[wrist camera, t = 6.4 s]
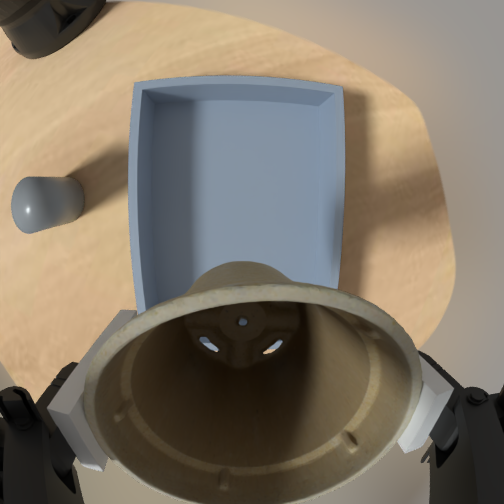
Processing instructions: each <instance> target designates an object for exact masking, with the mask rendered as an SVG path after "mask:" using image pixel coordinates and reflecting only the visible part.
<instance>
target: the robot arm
mask: <svg viewBox="0 0 504 504" xmlns="http://www.w3.org/2000/svg"><path fill="white" fill-rule="evenodd" d="M105 2H106V0H0V27H2V29H3V31H4V32H5V34H6V35H7V37H8V38H9V39H10V40H11V43H12V46H13V48H14V50H15V51H16V52H17V53H19V54H20V55H22V56H24V57H26V58H28V59H37V58H41V57H44V56H47V55H49V54H51V53H53V52H55V51H57V50H58V49H60V48H61V47H63V46H64V45H66V44H67V43H68V42H70V41H71V40H72V39H74V38H75V37H76V36H77V35H78V34H79V33H80V32H82V31H83V30H84V29H85V28H86V27H87V26H88V25H89V24H90V23H91V21H92V20H93V19H94V18H95V17H96V16H97V14H98V13H99V12H100V10H101V9H102V7H103V5H104V4H105ZM135 316H137V310H120V312H119V313H118V314H117V315H116V316H115V318H114V319H113V320H112V321H111V323H110V324H109V325H108V326H107V328H106V329H105V330H104V331H103V333H102V334H101V335H100V336H99V338H98V339H97V340H96V341H95V343H94V344H93V345H92V347H91V348H90V349H89V350H88V352H87V353H86V354H85V356H84V357H83V358H82V360H81V361H80V362H79V363H76V362H71V363H70V364H68V365H67V366H65V367H64V368H62V369H61V371H60V372H59V373H58V375H57V376H56V379H55V378H54V380H53V381H52V382H51V385H49V386H48V388H47V389H46V390H45V391H44V393H43V394H42V395H41V397H40V398H39V400H38V401H37V402H36V404H35V403H34V401H33V400H32V398H31V396H30V394H29V392H28V391H27V390H26V389H24V388H22V387H17V386H13V387H8V388H6V389H4V390H2V391H0V413H1V414H2V416H3V418H1V417H0V504H84V501H83V497H82V493H81V489H80V484H79V480H78V476H77V471H76V469H75V467H74V465H73V462H74V460H75V457H77V459H78V460H79V461H80V463H81V464H82V465H83V466H84V467H88V468H91V469H94V470H98V471H102V472H103V471H104V469H105V466H106V463H107V460H108V457H109V456H107V455H106V454H105V452H104V451H103V450H102V449H101V447H100V446H99V444H98V442H97V441H96V439H95V437H94V435H93V433H92V431H91V429H90V427H89V425H88V423H87V420H86V417H85V412H84V402H83V400H84V385H85V379H86V375H87V372H88V369H89V367H90V365H91V362H92V360H93V358H94V357H95V355H96V354H97V352H98V351H99V350H100V348H101V347H102V346H103V344H104V343H105V342H106V341H107V340H108V339H109V338H110V337H111V336H112V334H113V333H115V332H116V331H117V330H118V329H119V328H120V327H122V326H123V325H124V324H125V323H127V322H128V321H129V320H131V319H132V318H134V317H135ZM418 353H419V358H420V362H421V368H422V388H421V393H420V397H419V403H418V405H417V407H416V410H415V412H414V414H413V416H412V419H411V421H410V423H409V424H408V426H407V428H406V429H405V431H404V432H403V434H402V435H401V437H400V438H399V439H398V441H397V442H398V443H399V445H400V447H401V448H402V450H403V451H404V453H407V452H410V451H412V450H415V449H417V448H420V447H422V446H423V444H424V443H425V441H426V439H427V438H428V436H430V437H431V439H432V440H433V442H432V444H431V445H430V447H429V448H428V450H427V451H426V453H425V454H424V456H423V457H422V459H421V463H423V462H424V461H425V460H426V458H427V457H428V455H429V456H430V458H429V460H428V462H427V463H430V500H429V504H504V385H503V388H502V390H501V392H500V393H496V394H491V395H489V394H488V393H487V392H485V391H484V390H483V389H480V388H477V387H467V388H465V389H464V388H463V387H462V386H461V385H460V384H459V383H458V382H457V381H456V380H455V379H454V378H453V377H451V375H449V374H448V373H447V372H446V371H445V370H443V369H442V367H441V366H440V365H439V364H437V363H436V362H435V361H434V360H433V359H432V358H431V357H430V356H429V355H426V354H425V353H423V352H421V351H418Z"/></svg>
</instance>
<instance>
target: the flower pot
mask: <svg viewBox="0 0 504 504" xmlns="http://www.w3.org/2000/svg"><path fill="white" fill-rule="evenodd" d="M241 319H246V320H247V324H246V325H240V324H239V321H240V320H241ZM200 337H207V338H208V340H209V341H210V342H211V343H212V344H213V345H214V346H215V347H217V349H218V352H215V351H214V350H211V349H209V348H208V347H207V346H205V345H204V344H203V343H202V342H201V341H200V340H199V339H200ZM278 340H282V343H281V345H280V346H279V348H277V349H276V350H275V351H274V352H272V353H268V354H263V352H264V351H266V350H267V349H269V348H270V347H271V346H273V345H274V344H275V343H276V342H277V341H278ZM421 388H422V368H421V362H420V358H419V353H418V351H417V349H416V347H415V345H414V343H413V341H412V339H411V337H410V336H409V335H408V334H407V333H406V332H405V330H404V328H403V327H402V326H401V325H399V324H398V323H397V322H396V320H395V319H394V318H392V317H391V316H390V315H389V314H387V313H386V312H385V311H384V310H382V309H380V308H379V307H378V306H376V305H375V304H373V303H371V302H369V301H367V300H365V299H363V298H361V297H358V296H355V295H353V294H350V293H347V292H344V291H341V290H338V289H334V288H330V287H326V286H321V285H315V284H310V283H302V282H294V281H292V280H291V279H289V278H288V277H286V276H285V275H284V274H282V273H281V272H280V271H278V270H277V269H275V268H273V267H271V266H269V265H266V264H263V263H258V262H252V261H233V262H228V263H224V264H221V265H219V266H216V267H214V268H212V269H210V270H209V271H207V272H206V273H204V274H203V275H201V276H200V277H199V278H198V279H197V280H196V281H195V282H194V284H193V285H192V286H191V288H190V289H189V290H188V291H187V292H186V293H185V294H184V295H181V296H178V297H175V298H172V299H170V300H167V301H165V302H162V303H159V304H157V305H155V306H153V307H151V308H150V309H148V310H146V311H144V312H142V313H140V314H139V315H137V316H135V317H134V318H132V319H131V320H129V321H128V322H127V323H125V324H124V325H123V326H122V327H120V328H119V329H118V330H117V331H116V332H115V333H113V334H112V336H111V337H110V338H109V339H108V340H107V341H106V342H105V343H104V344H103V346H102V347H101V348H100V350H99V351H98V352H97V354H96V355H95V357H94V358H93V360H92V362H91V365H90V367H89V369H88V372H87V375H86V379H85V385H84V400H83V402H84V412H85V417H86V420H87V423H88V425H89V427H90V429H91V431H92V433H93V435H94V437H95V439H96V441H97V442H98V444H99V446H100V447H101V449H102V450H103V451H104V452H105V454H106V455H107V456H109V458H110V459H111V460H112V462H113V463H115V464H116V465H117V466H118V467H119V468H120V469H122V470H123V471H125V472H126V473H127V474H128V475H129V476H131V477H132V478H133V479H135V480H136V481H137V482H139V483H141V484H143V485H144V486H146V487H148V488H150V489H152V490H154V491H156V492H158V493H160V494H163V495H165V496H167V497H170V498H173V499H175V500H179V501H182V502H185V503H188V504H297V503H302V502H306V501H308V500H312V499H314V498H317V497H320V496H322V495H324V494H327V493H329V492H331V491H335V490H336V489H338V488H340V487H341V486H343V485H345V484H347V483H349V482H350V481H352V480H354V479H355V478H357V477H358V476H359V475H361V474H363V473H364V472H366V471H367V470H368V469H369V468H371V467H372V466H373V465H374V464H375V463H377V462H378V461H379V460H380V459H381V458H382V457H383V456H384V455H385V454H386V453H388V451H389V450H390V449H391V448H392V446H394V444H395V443H396V442H397V441H398V439H399V438H400V437H401V435H402V434H403V432H404V431H405V429H406V428H407V426H408V424H409V423H410V421H411V419H412V416H413V414H414V412H415V410H416V407H417V405H418V403H419V397H420V393H421Z"/></svg>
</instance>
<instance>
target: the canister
mask: <svg viewBox="0 0 504 504" xmlns="http://www.w3.org/2000/svg"><path fill="white" fill-rule="evenodd" d="M83 207H84V192H83V189H82V186H81V185H80V183H79V182H78V181H77V180H75V179H74V178H71V177H26V178H24V179H22V180H21V181H20V182H19V183H18V184H17V186H16V187H15V190H14V192H13V196H12V201H11V211H12V216H13V219H14V222H15V224H16V225H17V227H18V228H19V229H20V230H21V231H22V232H24V233H27V234H31V233H35V232H38V231H42V230H45V229H49V228H52V227H56V226H60V225H63V224H67V223H71V222H73V221H75V220H76V219H77V218H78V217H79V216H80V214H81V212H82V210H83Z"/></svg>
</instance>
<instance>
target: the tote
mask: <svg viewBox="0 0 504 504" xmlns="http://www.w3.org/2000/svg"><path fill="white" fill-rule="evenodd" d="M344 196H345V122H344V100H343V87H342V86H337V85H331V84H325V83H319V82H312V81H304V80H296V79H286V78H274V77H259V76H193V77H178V78H167V79H157V80H149V81H141V82H134V90H133V99H132V109H131V121H130V136H129V159H128V208H129V232H130V247H131V259H132V270H133V279H134V288H135V296H136V304H137V310H138V315H139V314H140V313H142V312H144V311H146V310H148V309H150V308H151V307H153V306H155V305H157V304H159V303H162V302H165V301H167V300H170V299H172V298H175V297H178V296H181V295H184V294H185V293H186V292H187V291H188V290H189V289H190V288H191V286H192V285H193V284H194V282H195V281H196V280H197V279H198V278H199V277H200V276H201V275H203V274H204V273H206V272H207V271H209V270H210V269H212V268H214V267H216V266H219V265H221V264H224V263H228V262H233V261H252V262H258V263H263V264H266V265H269V266H271V267H273V268H275V269H277V270H278V271H280V272H281V273H282V274H284V275H285V276H286V277H288V278H289V279H291V280H292V281H294V282H302V283H310V284H315V285H321V286H326V287H330V288H334V289H338V281H339V272H340V261H341V249H342V235H343V219H344ZM239 324H240V325H246V324H247V320H246V319H241V320H240V321H239ZM199 340H200V341H201V342H202V343H203V344H204V345H205V346H207V347H208V348H209V349H211V350H218V349H217V347H215V346H214V345H213V344H212V343H211V342H210V341H209V340H208V338H207V337H200V339H199ZM281 343H282V340H278V341H277V342H276V343H275V344H274V345H273V346H271V347H270V348H269V349H277V348H279V346H280V345H281Z"/></svg>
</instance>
